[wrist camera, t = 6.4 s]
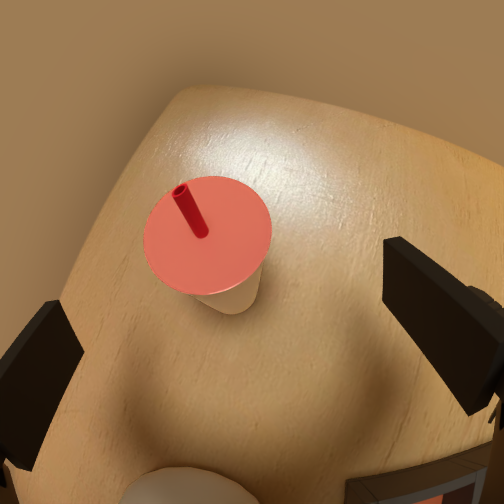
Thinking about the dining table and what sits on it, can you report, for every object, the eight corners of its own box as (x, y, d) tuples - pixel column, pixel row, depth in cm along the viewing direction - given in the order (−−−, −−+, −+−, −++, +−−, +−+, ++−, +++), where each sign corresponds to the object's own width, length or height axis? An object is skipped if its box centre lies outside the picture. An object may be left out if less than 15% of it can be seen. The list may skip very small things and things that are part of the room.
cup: (177, 286, 21) (89, 192, 10) (235, 237, 22) (203, 108, 11) (227, 346, 20) (168, 305, 8) (289, 291, 21) (306, 188, 10)
